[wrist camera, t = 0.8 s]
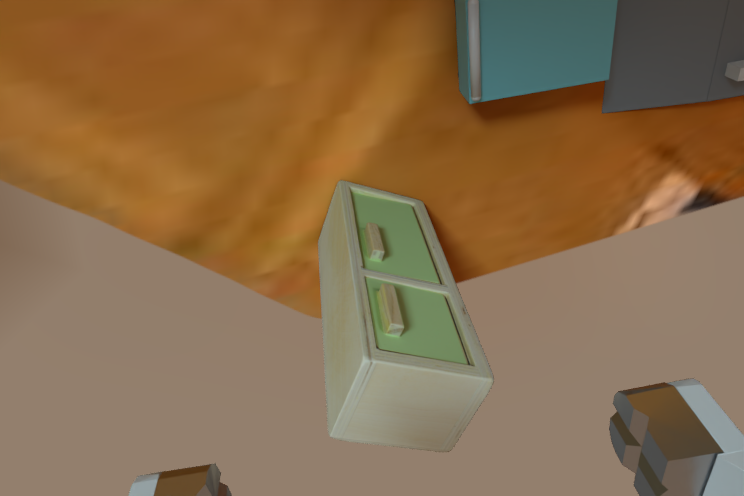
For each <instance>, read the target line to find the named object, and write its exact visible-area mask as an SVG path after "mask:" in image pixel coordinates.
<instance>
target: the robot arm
mask: <svg viewBox="0 0 744 496" xmlns="http://www.w3.org/2000/svg"><path fill="white" fill-rule="evenodd" d="M613 404H614V406H615V408H616V410H617V412H616V413H615V414H614V415H613V416H612V417H611V418H610V427H609V430H610V435H611V440H612V444H613V447H614V449H615V452H616V454H617V456H618V458H619V459H620V461H621V463H622V465H624V466H625V467H627V468H628V469H630V470H631V471H633V472H634V473H636V475H635V481H634V487H635V488H636V490H637V492H638V494H639V496H744V435H743V434H742V433H741V431H740V430H739V429H738V428H737V427H736V425H735V424H734V423H733V422H732V420H731V419H730V418H729V417H728V416H727V415H726V413H725V412H724V411H723V410H722V409H721V407H720V406H719V405H718V404H717V402H716V401H715V400H714V399H713V397H712V396H711V395H710V394H709V393H708V391H707V390H706V389H705V388H704V387H703V385H702V384H701V383H700V382H699V381H697V380H695V379H693V378H692V379H685V380H679V381H674V382H670V383H659V384H654V385H649V386H644V387H639V388H633V389H628V390H623V391H618V392H617V393H616V394H615V396H614V401H613ZM220 475H221V473H220V471H219V469H218V467H217V466H216V464H209V465H203V466H196V467H191V468H184V469H178V470H171V471H164V472H158V473H152V474H146V475H140V476H138V477H137V478H136V480H135V481H134V483H133V484H132V486H131V489H130V492H129V496H232V495H231V492H230V490H229V488H228V486H227V485H225V484H223V483H220Z"/></svg>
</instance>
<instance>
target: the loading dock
mask: <svg viewBox="0 0 744 496" xmlns="http://www.w3.org/2000/svg"><path fill="white" fill-rule="evenodd" d="M742 95H744V0H618V2H617V11H616V20H615V29H614V38H613V47H612V56H611V65H610V73H609V80H605V88H604V97H603V107H602V113H610V112H618V111H627V110H636V109H644V108H653V107H662V106H671V105H679V104H688V103H697V102H705V101H713V100H719V99H724V98H730V97H736V96H742Z"/></svg>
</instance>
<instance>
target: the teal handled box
mask: <svg viewBox="0 0 744 496" xmlns="http://www.w3.org/2000/svg"><path fill="white" fill-rule="evenodd" d="M454 2H455V9H456V30H457V51H458V77H459V91H460V92H461V94H462V95H463V96H464V97H465V99H466V100H467V101H468V103H469V104H472V103H478V102H484V101H490V100H495V99H501V98H507V97H513V96H518V95H524V94H530V93H535V92H541V91H547V90H553V89H558V88H564V87H570V86H576V85H581V84H587V83H593V82H598V81H604V80H609V73H610V65H611V56H612V47H613V38H614V29H615V20H616V11H617V2H618V0H454Z"/></svg>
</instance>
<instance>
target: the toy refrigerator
mask: <svg viewBox="0 0 744 496" xmlns="http://www.w3.org/2000/svg"><path fill="white" fill-rule="evenodd" d="M318 252H319V272H320V289H321V309H322V327H323V344H324V345H323V346H324V365H325V385H326V403H327V422H328V434H329V436H330V437H331V438H334V439H338V440H342V441H350V442H356V443H367V444H375V445H385V446H393V447H401V448H410V449H419V450H427V451H435V452H449V451H451V450H452V449H453V447H454V446H455V444H456V443H457V441H458V440H459V438H460V437H461V435H462V433H463V432H464V430H465V429H466V427H467V426H468V424H469V422H470V421H471V419H472V418H473V416H474V415H475V413H476V411H477V410H478V408H479V407H480V405H481V404H482V402H483V400H484V399H485V397H486V396H487V394H488V393H489V391H490V389H491V387H492V385H493V382H494V377H493V374H492V371H491V368H490V366H489V363H488V361H487V358H486V356H485V353H484V351H483V349H482V346H481V344H480V341H479V339H478V336H477V334H476V331H475V329H474V326H473V324H472V322H471V319H470V317H469V314H468V312H467V310H466V307H465V305H464V302H463V300H462V297H461V295H460V292H459V290H458V287H457V285H456V282H455V280H454V277H453V275H452V272H451V270H450V267H449V265H448V262H447V260H446V257H445V255H444V252H443V250H442V247H441V245H440V242H439V240H438V238H437V235H436V232H435V230H434V227H433V225H432V223H431V220H430V218H429V215H428V213H427V210H426V208H425V206H424V203H423V202H422V201H420V200H417V199H413V198H409V197H405V196H401V195H397V194H393V193H390V192H386V191H382V190H378V189H374V188H370V187H366V186H362V185H358V184H354V183H351V182H347V181H342V180H341V181H339V182H338V184H337V187H336V189H335V192H334V195H333V198H332V201H331V204H330V207H329V210H328V213H327V216H326V219H325V222H324V225H323V228H322V231H321V234H320V238H319V241H318Z"/></svg>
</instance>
